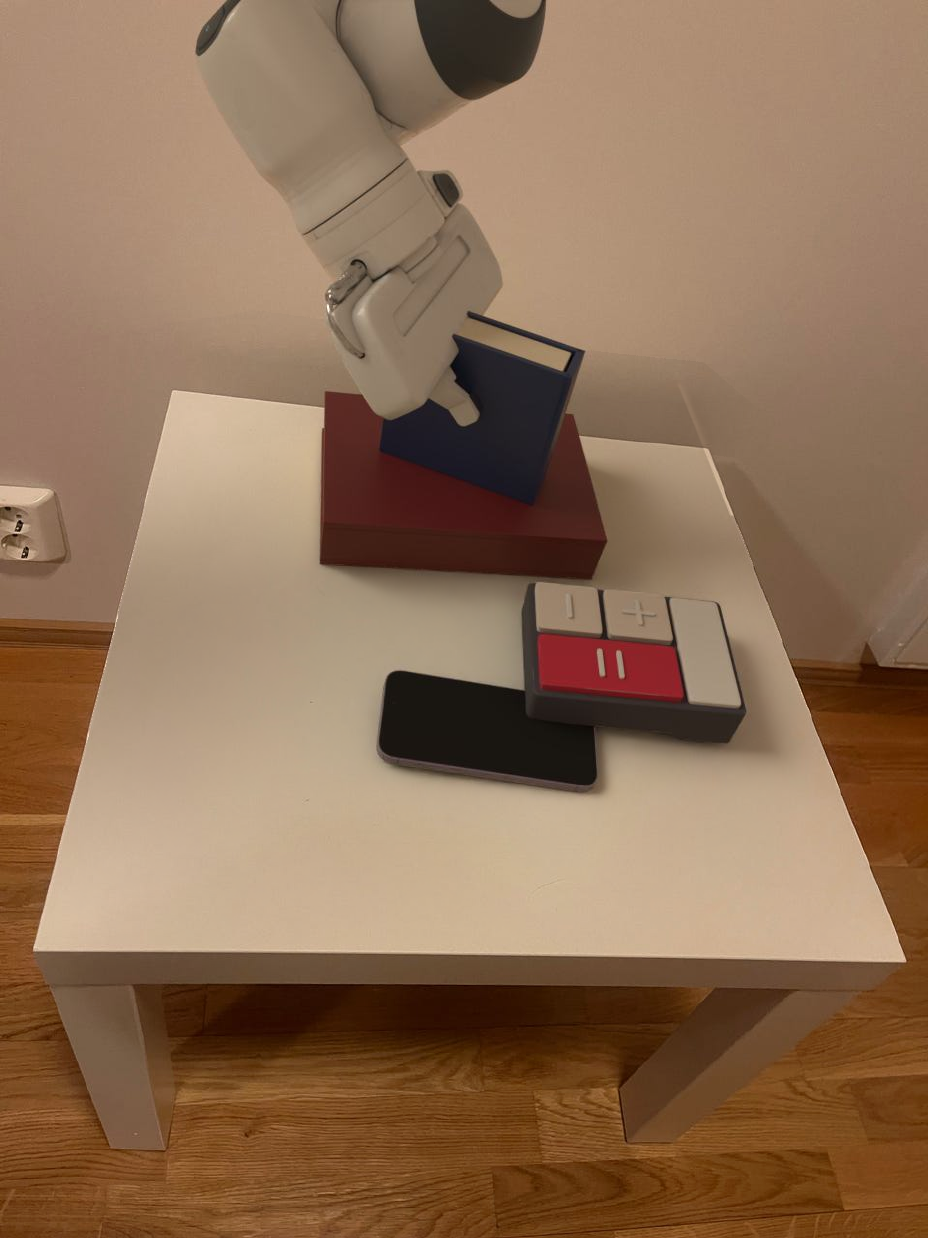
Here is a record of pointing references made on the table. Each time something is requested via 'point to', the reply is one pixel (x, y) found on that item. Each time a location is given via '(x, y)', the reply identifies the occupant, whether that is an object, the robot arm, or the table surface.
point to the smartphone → (480, 733)
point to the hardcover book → (494, 411)
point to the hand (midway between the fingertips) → (484, 400)
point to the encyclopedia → (449, 508)
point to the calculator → (629, 662)
